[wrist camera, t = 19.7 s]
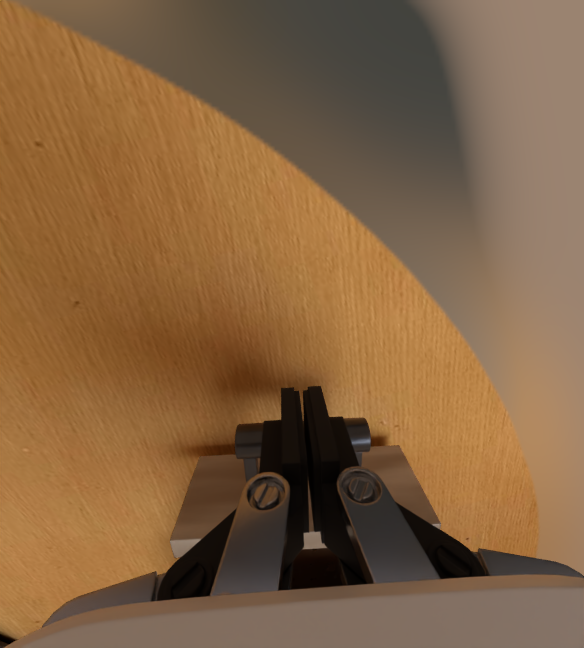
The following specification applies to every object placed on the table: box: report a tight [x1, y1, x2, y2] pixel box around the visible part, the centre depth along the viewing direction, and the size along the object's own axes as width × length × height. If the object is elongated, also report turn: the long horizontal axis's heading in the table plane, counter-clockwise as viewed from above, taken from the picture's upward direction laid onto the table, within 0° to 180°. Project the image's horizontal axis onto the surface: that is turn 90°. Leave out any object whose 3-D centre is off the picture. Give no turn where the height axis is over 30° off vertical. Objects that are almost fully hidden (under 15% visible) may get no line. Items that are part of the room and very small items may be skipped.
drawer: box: [170, 418, 441, 590], centre depth 16 cm, size 17×12×5 cm
